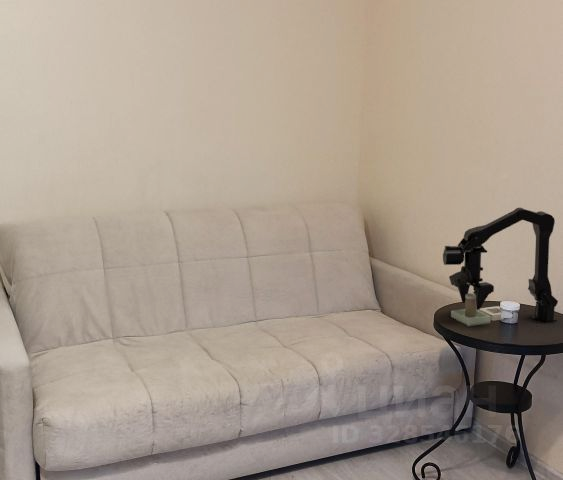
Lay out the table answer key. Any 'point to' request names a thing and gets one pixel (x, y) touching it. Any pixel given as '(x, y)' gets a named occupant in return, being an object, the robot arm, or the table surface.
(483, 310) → the socket block
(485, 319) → the tray
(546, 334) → the table surface
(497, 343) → the table surface
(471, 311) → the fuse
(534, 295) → the robot arm
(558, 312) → the table surface
